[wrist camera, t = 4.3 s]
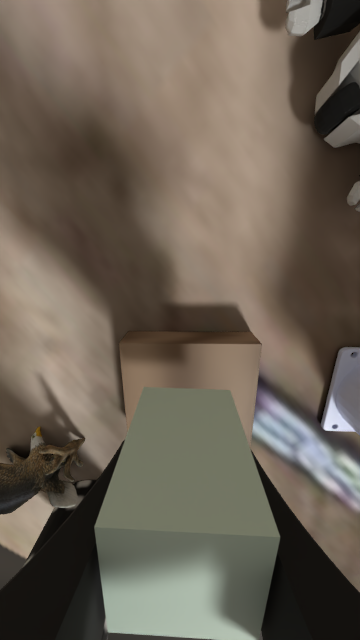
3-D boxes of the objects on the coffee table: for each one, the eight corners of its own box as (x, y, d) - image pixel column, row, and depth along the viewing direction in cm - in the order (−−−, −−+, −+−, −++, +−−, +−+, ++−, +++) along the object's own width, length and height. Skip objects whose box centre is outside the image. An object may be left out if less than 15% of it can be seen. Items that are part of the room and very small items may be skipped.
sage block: (230, 389, 11) (280, 536, 5) (223, 458, 12) (258, 642, 6) (143, 387, 11) (94, 526, 5) (145, 455, 12) (107, 632, 6)
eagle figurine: (47, 399, 18) (-52, 445, 18) (36, 502, 13) (-100, 568, 13) (96, 422, 24) (22, 457, 23) (101, 500, 19) (8, 546, 18)
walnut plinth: (249, 329, 17) (261, 344, 14) (240, 427, 20) (249, 456, 17) (130, 329, 18) (118, 343, 15) (137, 425, 20) (129, 453, 18)
